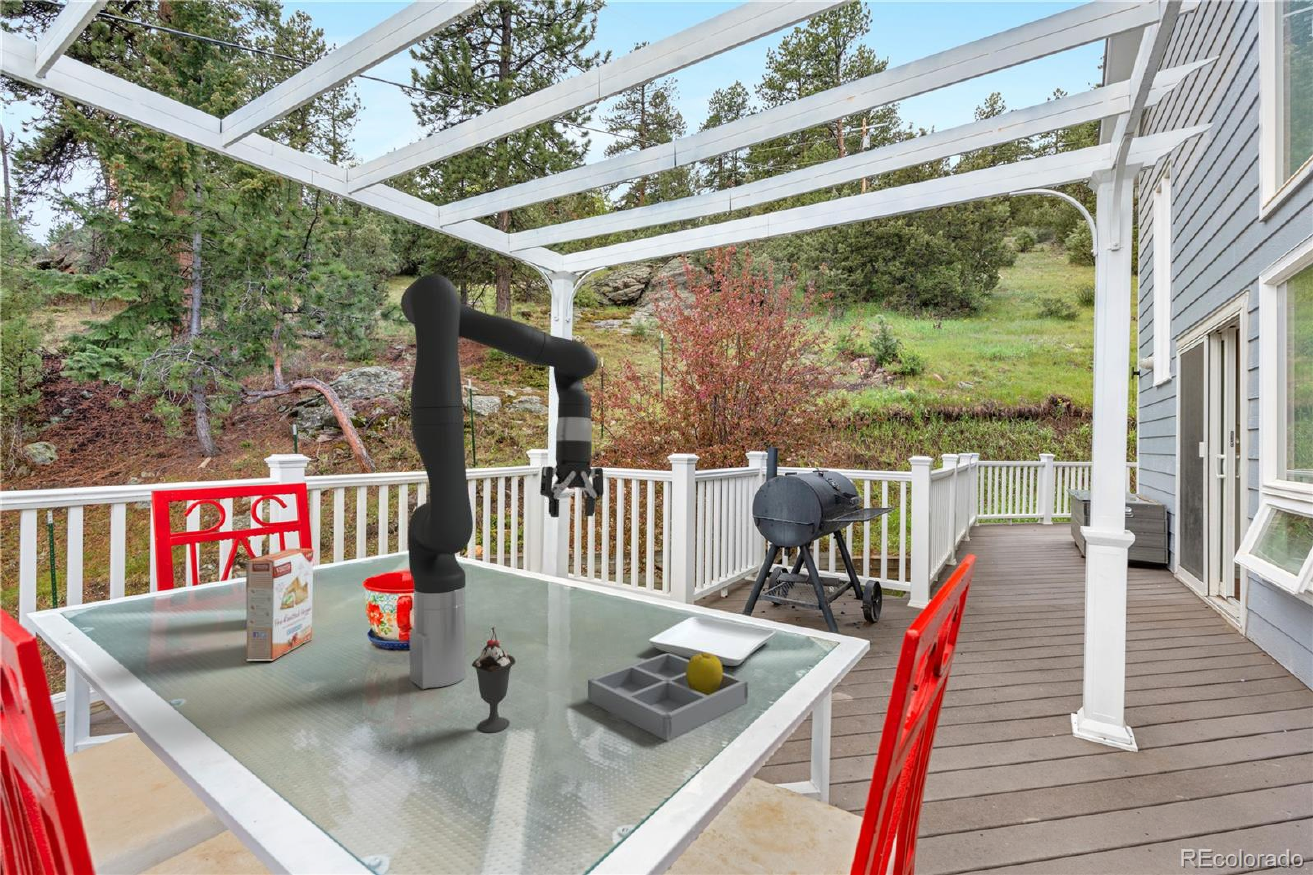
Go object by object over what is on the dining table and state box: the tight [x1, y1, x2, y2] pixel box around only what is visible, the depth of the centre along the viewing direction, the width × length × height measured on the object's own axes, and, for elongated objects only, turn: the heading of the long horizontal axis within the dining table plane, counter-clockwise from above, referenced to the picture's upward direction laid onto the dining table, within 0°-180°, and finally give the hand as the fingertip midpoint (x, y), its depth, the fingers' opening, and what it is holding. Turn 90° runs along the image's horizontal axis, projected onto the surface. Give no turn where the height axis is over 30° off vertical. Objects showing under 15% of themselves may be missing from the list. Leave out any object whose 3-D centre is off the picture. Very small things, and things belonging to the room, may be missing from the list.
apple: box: [686, 653, 724, 696], centre depth 105 cm, size 6×6×8 cm
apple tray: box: [587, 652, 749, 742], centre depth 105 cm, size 20×20×4 cm
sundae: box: [471, 626, 516, 734], centre depth 97 cm, size 7×7×15 cm
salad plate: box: [648, 616, 776, 667], centre depth 132 cm, size 21×21×3 cm
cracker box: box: [246, 548, 314, 660], centre depth 130 cm, size 14×6×21 cm, turn 179°
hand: (572, 516), depth 128 cm, fingers open, 8 cm apart
